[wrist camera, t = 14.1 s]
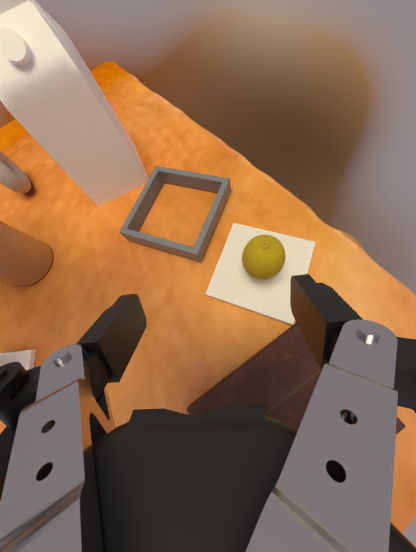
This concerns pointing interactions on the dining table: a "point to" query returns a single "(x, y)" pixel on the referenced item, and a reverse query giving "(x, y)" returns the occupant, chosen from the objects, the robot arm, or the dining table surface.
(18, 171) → the donut
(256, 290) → the board
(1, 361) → the headphone stand
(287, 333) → the notebook
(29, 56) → the milk
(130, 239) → the grey square frame
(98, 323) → the robot arm
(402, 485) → the dining table surface
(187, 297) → the dining table surface
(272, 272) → the lemon
